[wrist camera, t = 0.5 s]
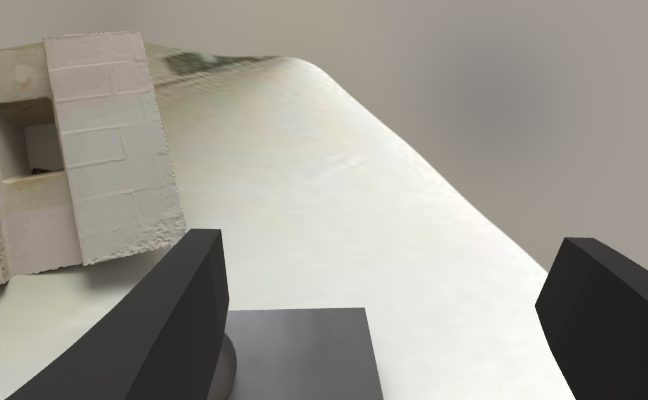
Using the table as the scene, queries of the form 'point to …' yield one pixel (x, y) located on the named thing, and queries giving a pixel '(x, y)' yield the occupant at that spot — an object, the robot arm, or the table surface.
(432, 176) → the table surface
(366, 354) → the grey slotted base box
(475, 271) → the table surface
